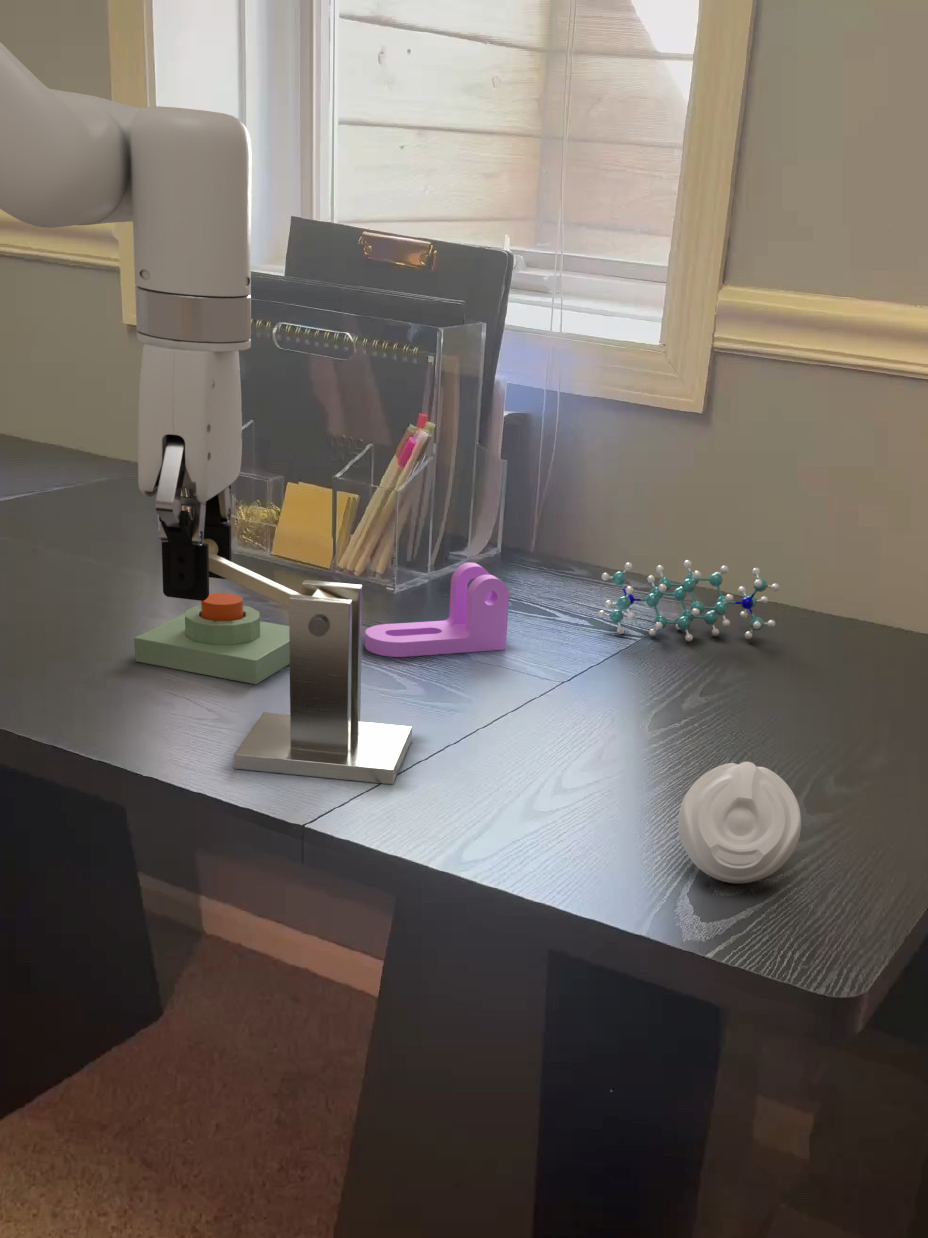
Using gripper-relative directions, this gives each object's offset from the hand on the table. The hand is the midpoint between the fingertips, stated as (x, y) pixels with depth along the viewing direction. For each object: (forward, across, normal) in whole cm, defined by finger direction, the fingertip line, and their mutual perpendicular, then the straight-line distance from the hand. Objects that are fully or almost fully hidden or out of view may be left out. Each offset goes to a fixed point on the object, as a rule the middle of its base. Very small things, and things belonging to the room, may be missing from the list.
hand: (198, 584), depth 101 cm
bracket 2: (+12, -29, +14) cm, 34 cm away
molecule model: (+12, -39, +38) cm, 56 cm away
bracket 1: (+12, 0, +10) cm, 16 cm away
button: (+9, -20, -4) cm, 22 cm away
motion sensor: (+12, +14, +40) cm, 44 cm away
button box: (+13, -20, -4) cm, 24 cm away
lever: (+1, 0, +5) cm, 5 cm away
